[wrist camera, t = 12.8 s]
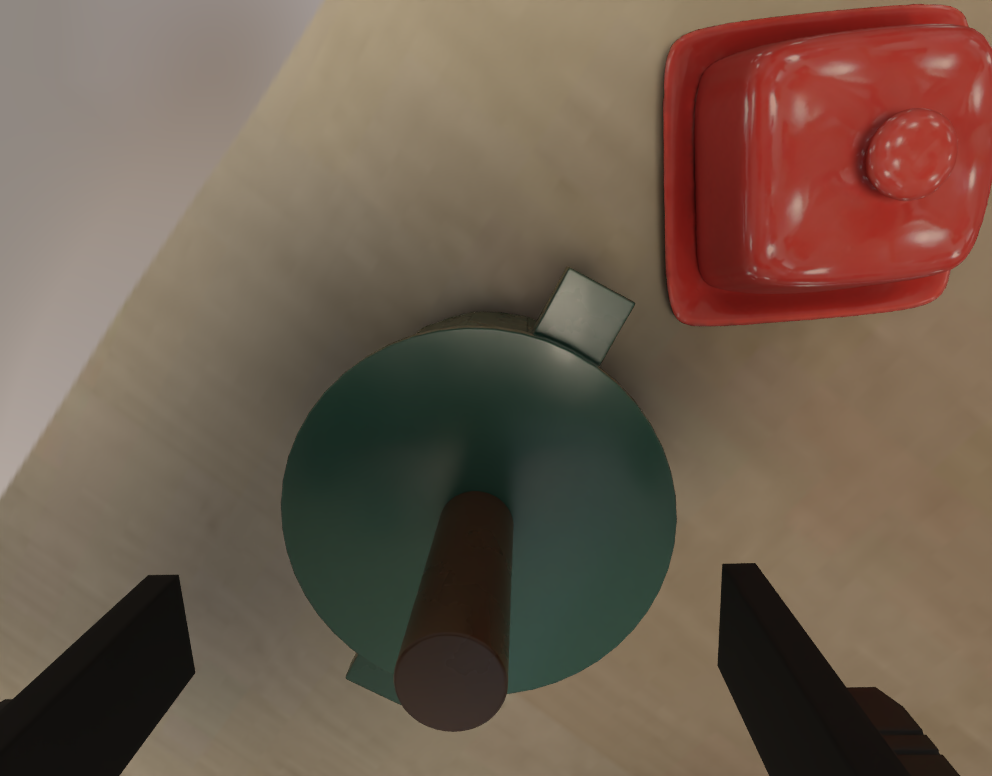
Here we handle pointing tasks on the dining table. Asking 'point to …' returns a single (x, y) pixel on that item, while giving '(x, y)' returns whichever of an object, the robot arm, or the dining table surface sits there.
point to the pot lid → (478, 516)
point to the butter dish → (823, 163)
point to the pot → (566, 320)
